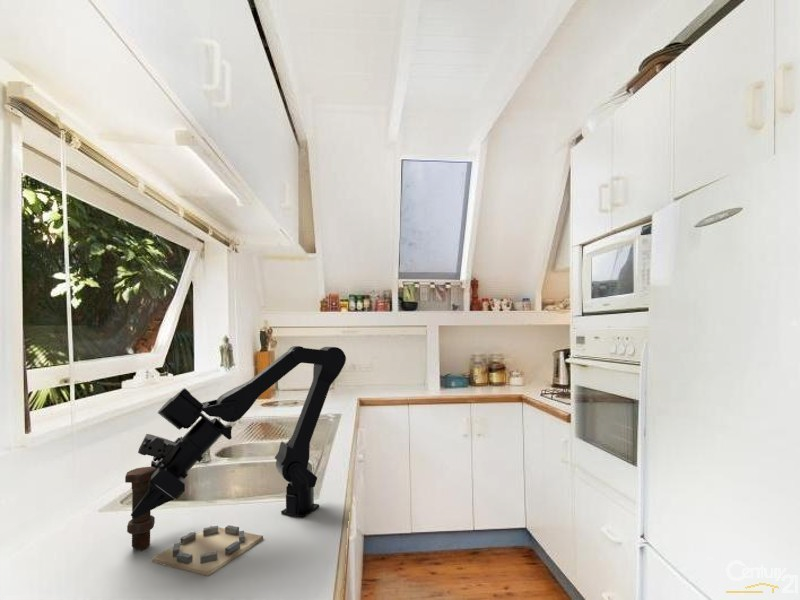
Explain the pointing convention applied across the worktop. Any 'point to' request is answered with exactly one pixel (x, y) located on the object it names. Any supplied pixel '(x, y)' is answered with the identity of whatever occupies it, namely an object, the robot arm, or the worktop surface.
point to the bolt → (139, 488)
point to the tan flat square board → (207, 551)
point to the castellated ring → (210, 556)
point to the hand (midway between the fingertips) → (134, 508)
